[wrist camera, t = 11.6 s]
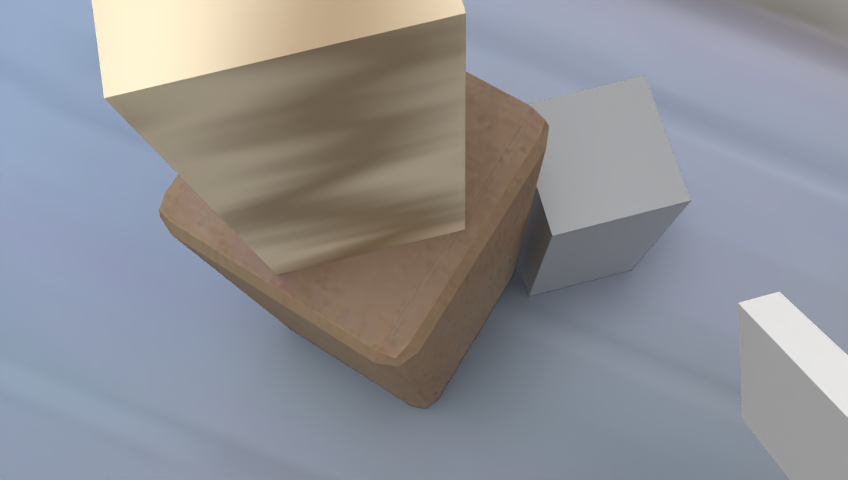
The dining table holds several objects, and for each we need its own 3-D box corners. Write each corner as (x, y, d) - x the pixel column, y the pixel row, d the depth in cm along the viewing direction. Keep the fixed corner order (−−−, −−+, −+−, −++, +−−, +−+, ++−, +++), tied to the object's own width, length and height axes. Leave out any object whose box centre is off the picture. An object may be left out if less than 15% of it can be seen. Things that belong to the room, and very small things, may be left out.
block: (521, 264, 44) (564, 110, 25) (428, 417, 42) (398, 376, 23) (374, 180, 46) (311, -24, 27) (278, 321, 44) (136, 210, 25)
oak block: (276, 274, 24) (103, 97, 13) (244, 103, 26) (67, -191, 14) (464, 229, 24) (465, 13, 13) (420, 62, 26) (386, -263, 14)
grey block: (528, 296, 44) (552, 235, 32) (500, 199, 45) (512, 108, 34) (631, 270, 44) (691, 200, 32) (599, 174, 46) (644, 75, 34)
